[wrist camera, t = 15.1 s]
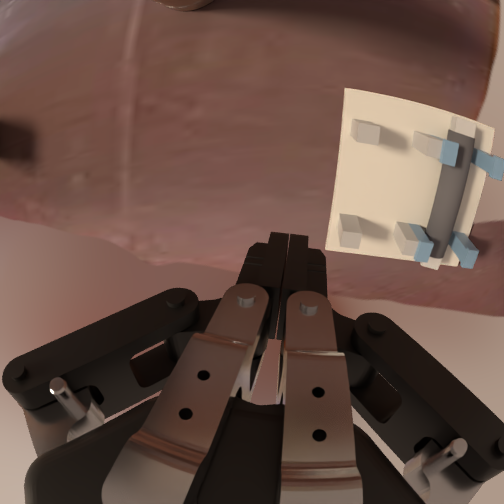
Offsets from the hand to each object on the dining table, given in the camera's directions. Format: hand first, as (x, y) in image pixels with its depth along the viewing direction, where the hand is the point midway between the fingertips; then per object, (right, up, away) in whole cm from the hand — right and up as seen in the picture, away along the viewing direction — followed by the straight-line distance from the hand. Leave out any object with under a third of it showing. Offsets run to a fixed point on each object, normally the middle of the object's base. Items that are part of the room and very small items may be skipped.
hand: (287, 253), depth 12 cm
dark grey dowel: (+23, +8, +19) cm, 31 cm away
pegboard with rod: (+19, +8, +20) cm, 29 cm away
